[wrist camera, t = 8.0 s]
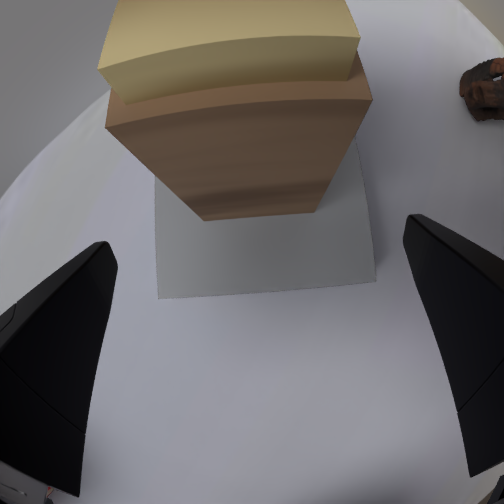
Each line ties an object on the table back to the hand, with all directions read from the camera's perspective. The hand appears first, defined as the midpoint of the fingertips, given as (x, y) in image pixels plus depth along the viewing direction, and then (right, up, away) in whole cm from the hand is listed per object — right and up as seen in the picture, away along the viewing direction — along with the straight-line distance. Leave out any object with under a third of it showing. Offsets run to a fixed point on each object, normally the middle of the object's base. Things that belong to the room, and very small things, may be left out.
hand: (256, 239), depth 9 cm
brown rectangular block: (0, +4, +9) cm, 10 cm away
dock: (0, +4, +11) cm, 12 cm away
